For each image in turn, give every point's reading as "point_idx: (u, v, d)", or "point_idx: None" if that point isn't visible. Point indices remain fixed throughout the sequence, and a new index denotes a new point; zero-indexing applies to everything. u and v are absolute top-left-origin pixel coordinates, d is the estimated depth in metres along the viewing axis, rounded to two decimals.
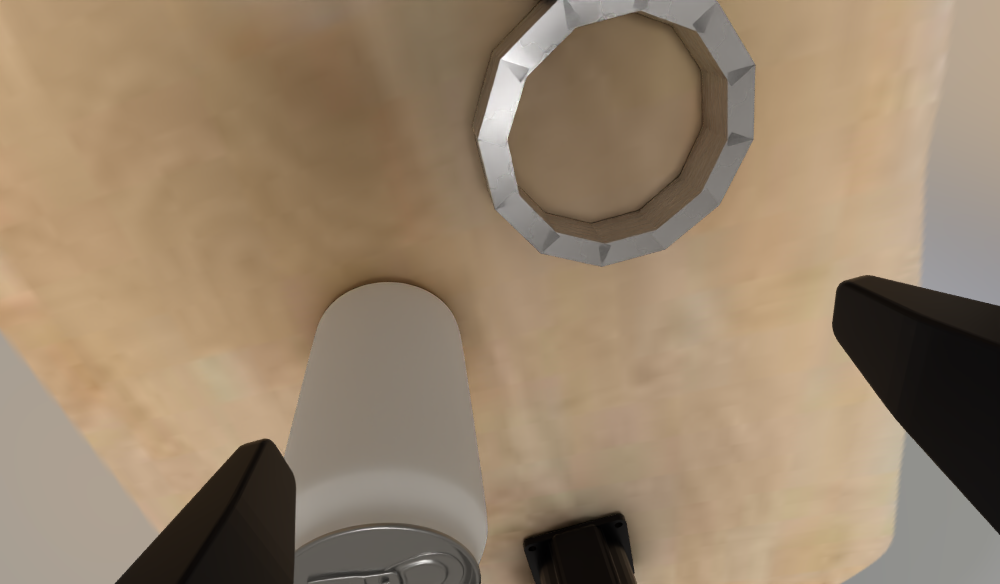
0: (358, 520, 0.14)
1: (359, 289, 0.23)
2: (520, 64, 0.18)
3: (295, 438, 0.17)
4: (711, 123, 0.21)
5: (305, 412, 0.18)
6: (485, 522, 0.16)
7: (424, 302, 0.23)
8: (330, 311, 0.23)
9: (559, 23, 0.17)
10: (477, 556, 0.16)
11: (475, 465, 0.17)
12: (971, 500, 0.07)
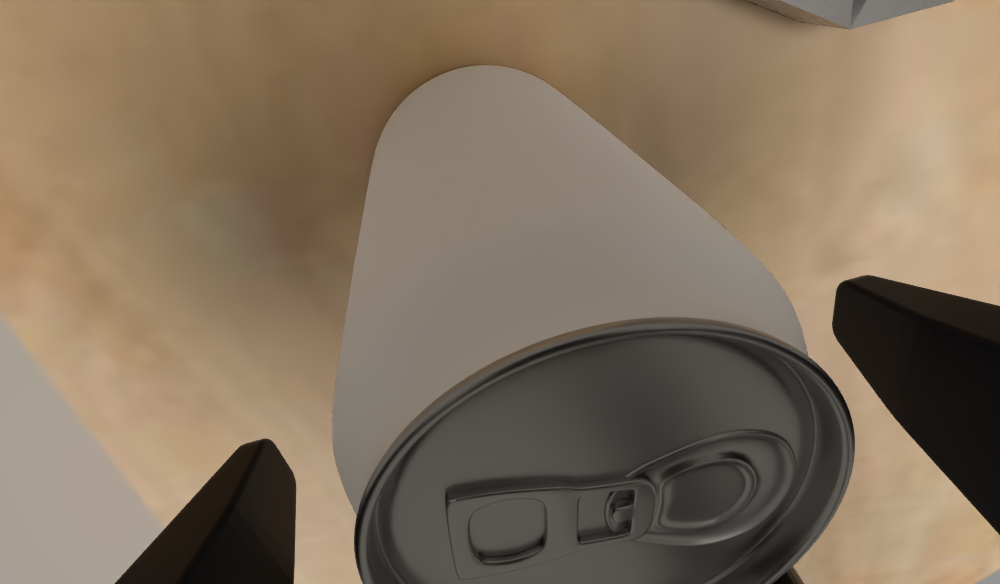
0: (613, 315, 0.05)
1: (449, 72, 0.14)
2: None
3: (382, 225, 0.08)
4: None
5: (395, 189, 0.09)
6: None
7: (557, 90, 0.14)
8: (403, 104, 0.14)
9: None
10: None
11: None
12: (972, 500, 0.07)
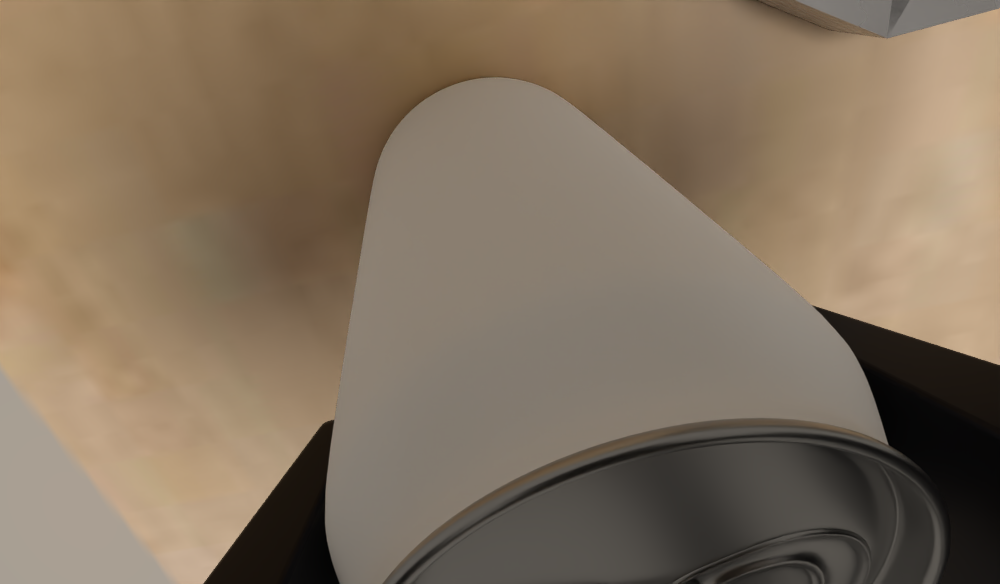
0: (670, 411, 0.04)
1: (455, 85, 0.13)
2: None
3: (383, 268, 0.07)
4: None
5: (399, 224, 0.08)
6: None
7: (571, 104, 0.13)
8: (406, 120, 0.13)
9: None
10: None
11: None
12: None
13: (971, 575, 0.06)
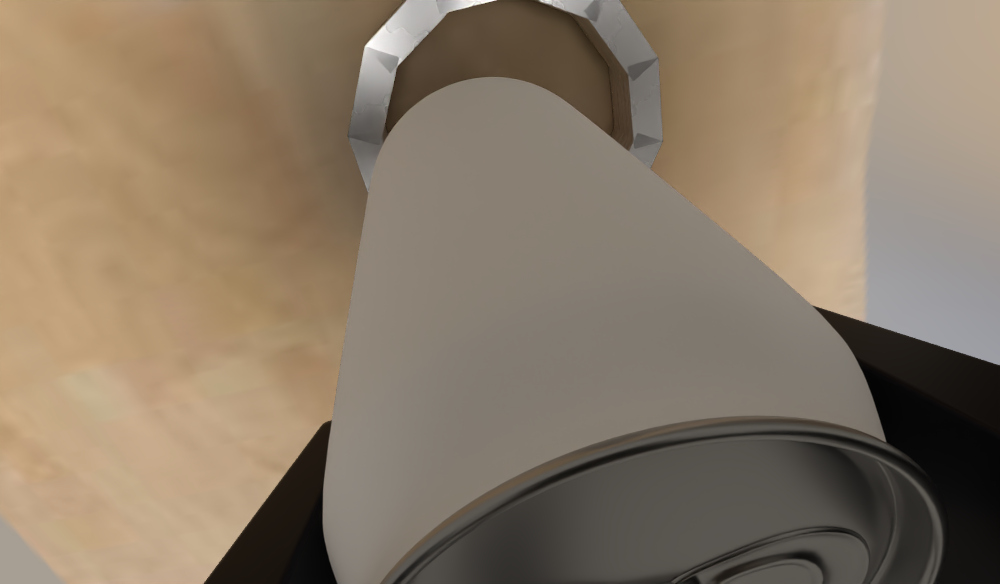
0: (669, 410, 0.04)
1: (453, 85, 0.13)
2: (388, 52, 0.16)
3: (381, 267, 0.07)
4: (620, 123, 0.19)
5: (396, 223, 0.08)
6: None
7: (569, 104, 0.13)
8: (404, 119, 0.13)
9: (429, 6, 0.16)
10: None
11: None
12: None
13: (971, 575, 0.06)
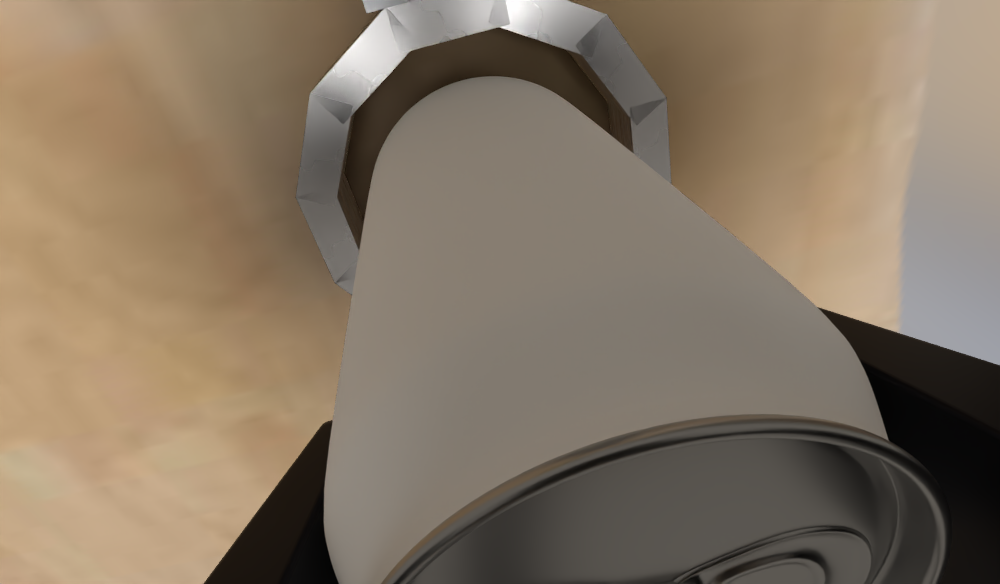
0: (673, 408, 0.04)
1: (454, 84, 0.13)
2: (339, 100, 0.13)
3: (381, 266, 0.07)
4: None
5: (397, 223, 0.08)
6: None
7: None
8: (404, 119, 0.13)
9: (386, 45, 0.13)
10: None
11: None
12: None
13: (971, 575, 0.06)
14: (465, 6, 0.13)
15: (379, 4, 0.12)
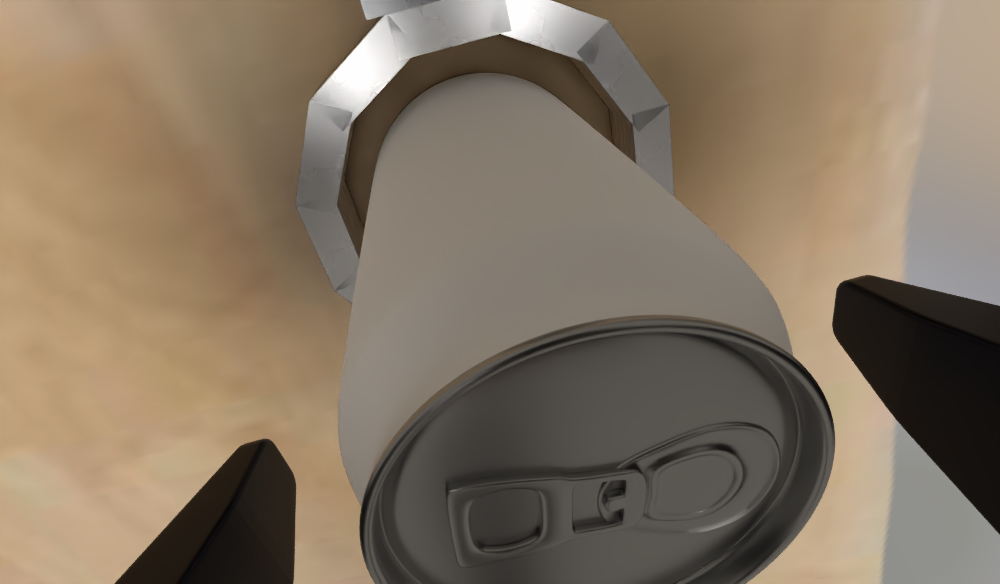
0: (601, 313, 0.05)
1: (449, 80, 0.14)
2: (339, 107, 0.13)
3: (384, 230, 0.08)
4: None
5: (397, 196, 0.09)
6: None
7: (554, 96, 0.14)
8: (404, 112, 0.14)
9: (386, 52, 0.13)
10: None
11: None
12: (972, 500, 0.07)
13: None
14: (466, 13, 0.12)
15: (379, 11, 0.12)
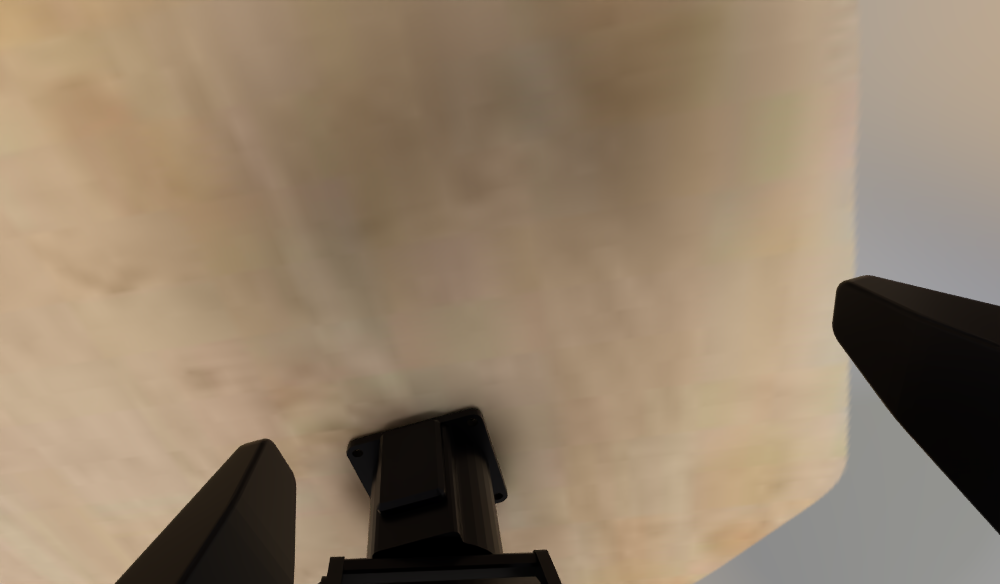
0: None
1: None
2: None
3: None
4: None
5: None
6: None
7: None
8: None
9: None
10: None
11: None
12: (971, 500, 0.07)
13: None
14: None
15: None
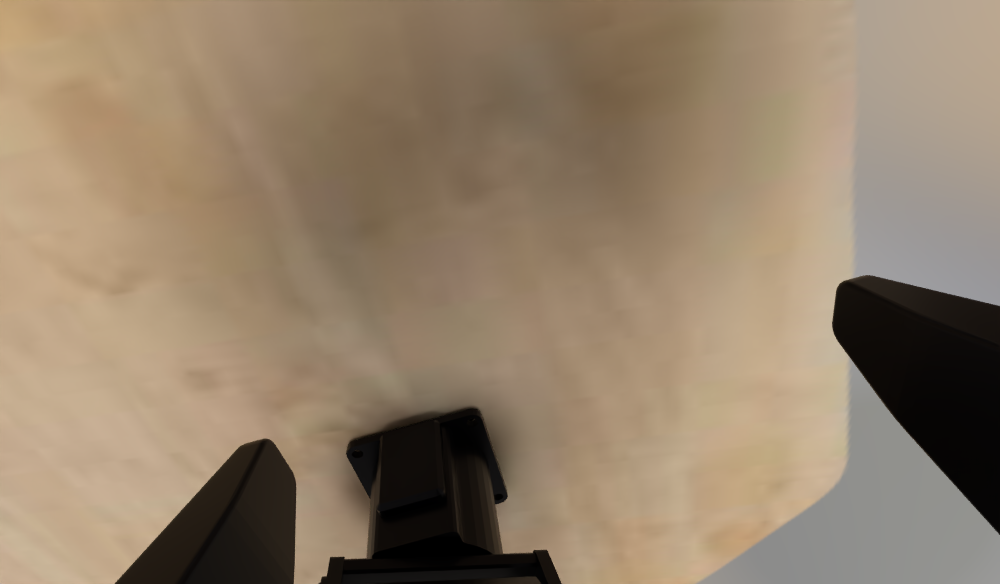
0: None
1: None
2: None
3: None
4: None
5: None
6: None
7: None
8: None
9: None
10: None
11: None
12: (972, 500, 0.07)
13: None
14: None
15: None
